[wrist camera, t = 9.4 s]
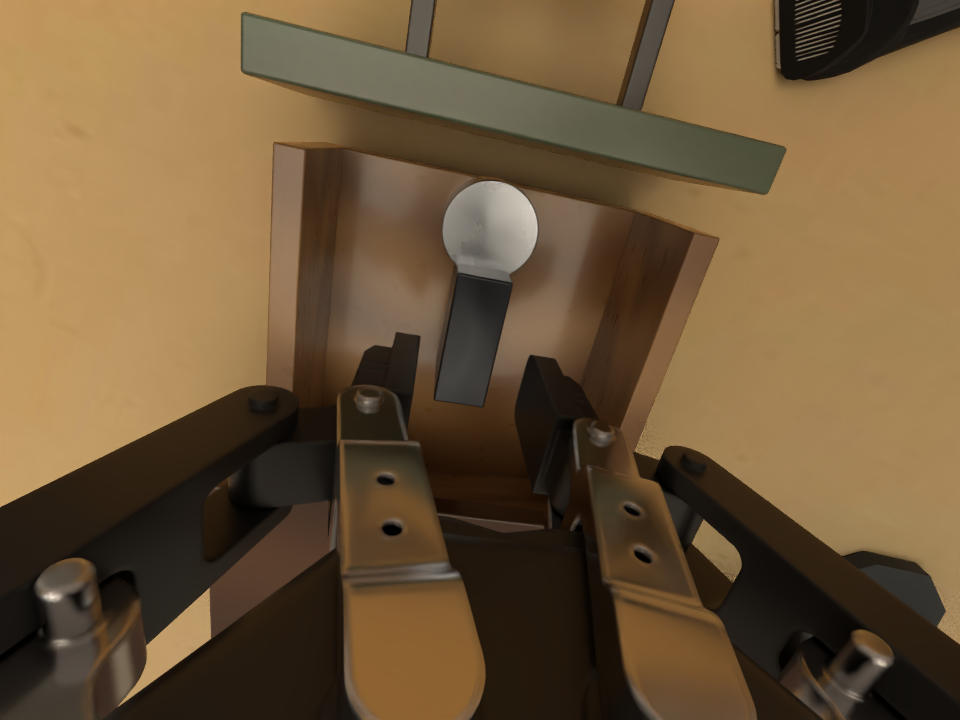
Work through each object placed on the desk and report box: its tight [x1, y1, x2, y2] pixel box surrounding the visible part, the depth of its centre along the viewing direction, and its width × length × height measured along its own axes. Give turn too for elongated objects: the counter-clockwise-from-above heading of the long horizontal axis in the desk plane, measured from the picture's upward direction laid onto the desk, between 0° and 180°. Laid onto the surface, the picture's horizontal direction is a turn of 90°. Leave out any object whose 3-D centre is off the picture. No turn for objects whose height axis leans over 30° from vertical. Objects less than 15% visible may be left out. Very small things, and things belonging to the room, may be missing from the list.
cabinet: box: [208, 478, 544, 639], centre depth 22 cm, size 17×15×8 cm
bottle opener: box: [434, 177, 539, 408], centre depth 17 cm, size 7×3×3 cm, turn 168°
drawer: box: [241, 0, 786, 510], centre depth 16 cm, size 21×13×6 cm, turn 168°
